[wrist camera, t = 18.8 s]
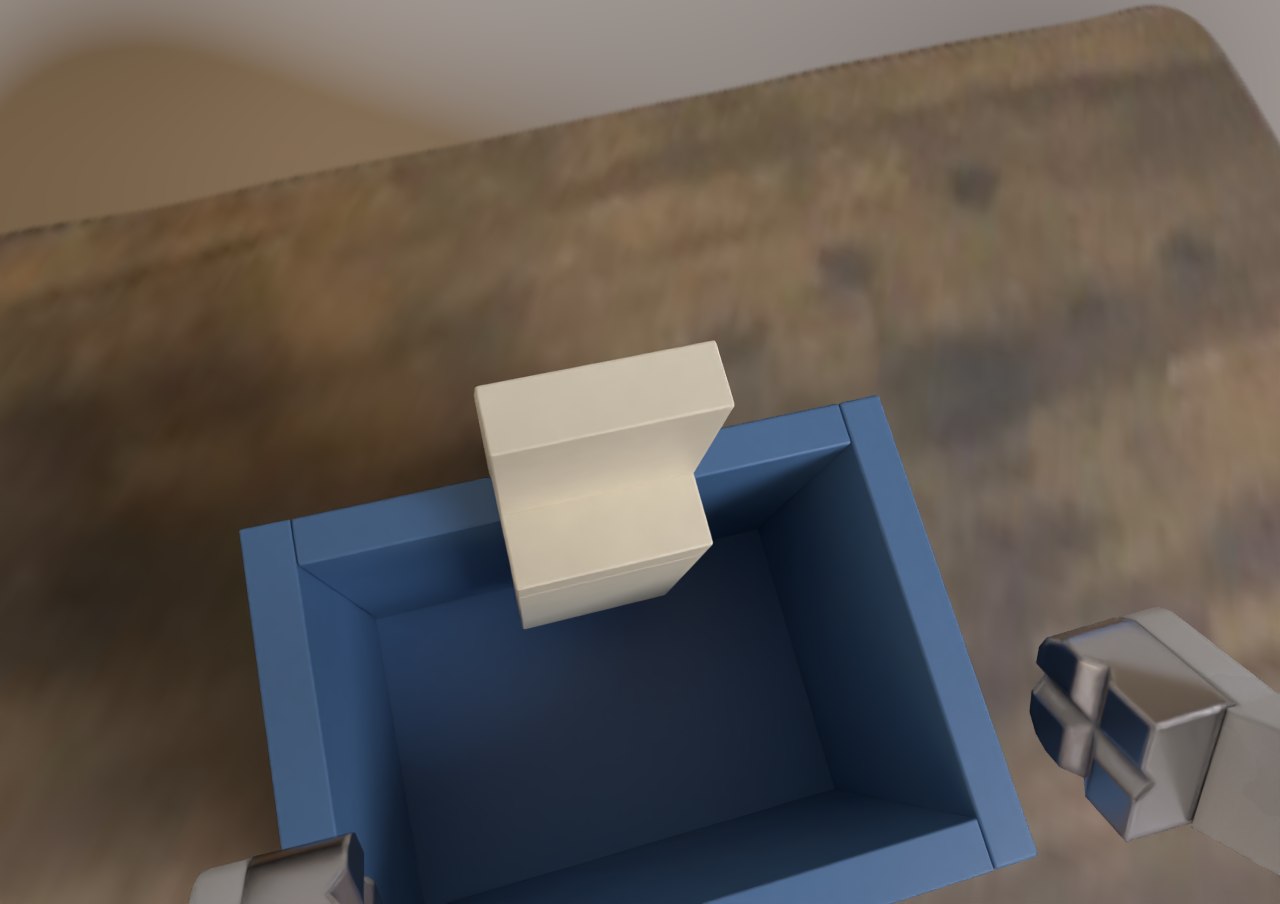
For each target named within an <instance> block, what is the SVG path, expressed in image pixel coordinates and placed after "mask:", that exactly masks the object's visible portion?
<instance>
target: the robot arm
mask: <svg viewBox="0 0 1280 904" xmlns="http://www.w3.org/2000/svg"><path fill="white" fill-rule="evenodd" d="M1036 663H1037V665H1038V666H1039V667H1040V668H1041V669H1042V670H1043V672H1044V673H1045V674H1044V676H1043V677H1042V678H1041V679H1040V681H1039V682H1038V683H1037V685H1036V686H1035V687H1034V689H1033V690H1032V693H1031V703H1030V715H1031V718H1032V722H1033V725H1034V729H1035V732H1036V735H1037V736H1038V738H1039V740H1040V742H1041V743H1042V745H1043V747H1044V749H1045V750H1046V752H1047V753H1048V754H1049V755H1050V756H1051V757H1052V759H1053V760H1054V761H1055V762H1056V763H1057V764H1058V766H1059V767H1061V768H1063V769H1065V770H1068V771H1070V772H1072V773H1074V774H1076V775H1079V776H1081V777H1083V778H1084V786H1085V796H1086V798H1087V799H1088V800H1089V801H1090V802H1091V803H1092V804H1093V806H1094V807H1095V808H1096V809H1097V810H1098V811H1099V812H1100V813H1101V815H1102V816H1103V817H1104V818H1105V819H1106V820H1107V821H1108V822H1109V824H1110V825H1111V826H1112V827H1113V828H1114V829H1115V830H1116V831H1117V833H1118V834H1119V835H1120V836H1121V837H1122V838H1123V839H1124V840H1125V842H1128V841H1132V840H1135V839H1138V838H1142V837H1145V836H1149V835H1152V834H1155V833H1159V832H1162V831H1165V830H1169V829H1172V828H1176V827H1179V826H1182V825H1186V824H1189V823H1192V826H1191V827H1192V828H1194V829H1196V830H1198V831H1199V832H1201V833H1203V834H1205V835H1207V836H1208V837H1210V838H1212V839H1214V840H1216V841H1217V842H1219V843H1221V844H1223V845H1225V846H1226V847H1228V848H1230V849H1232V850H1234V851H1235V852H1237V853H1239V854H1241V855H1243V856H1244V857H1246V858H1248V859H1250V860H1252V861H1253V862H1255V863H1257V864H1259V865H1261V866H1262V867H1264V868H1266V869H1268V870H1270V871H1271V872H1273V873H1275V874H1277V875H1279V876H1280V693H1276V692H1275V691H1274V690H1272V689H1271V688H1270V687H1269V686H1267V685H1266V684H1265V683H1263V682H1262V681H1261V680H1260V679H1258V678H1257V677H1256V676H1254V675H1253V674H1252V673H1251V672H1249V671H1248V670H1247V669H1245V668H1244V667H1243V666H1242V665H1240V664H1239V663H1238V662H1236V661H1235V660H1234V659H1232V658H1231V657H1230V656H1229V655H1227V654H1226V653H1225V652H1223V651H1222V650H1221V649H1220V648H1218V647H1217V646H1216V645H1214V644H1213V643H1212V642H1211V641H1209V640H1208V639H1207V638H1205V637H1204V636H1203V635H1202V634H1200V633H1199V632H1198V631H1196V630H1195V629H1194V628H1193V627H1191V626H1190V625H1189V624H1187V623H1186V622H1185V621H1184V620H1182V619H1181V618H1180V617H1178V616H1177V615H1176V614H1175V613H1173V612H1172V611H1170V610H1167V609H1164V608H1161V607H1158V606H1156V607H1153V608H1149V609H1146V610H1142V611H1139V612H1135V613H1132V614H1128V615H1124V616H1121V617H1119V618H1112V619H1109V620H1105V621H1102V622H1098V623H1095V624H1092V625H1088V626H1085V627H1081V628H1078V629H1074V630H1071V631H1068V632H1064V633H1061V634H1057V635H1054V636H1051V637H1047V638H1046V639H1045V640H1044V641H1043V643H1042V644H1041V645H1040V646H1039V650H1038V656H1037V661H1036ZM189 904H382V900H381V896H380V893H379V891H378V888H377V885H376V882H375V880H373V879H371V878H368V877H366V876H364V851H363V849H362V847H361V844H360V842H359V840H358V837H357V835H356V833H352V832H350V833H346V834H342V835H338V836H334V837H330V838H326V839H322V840H318V841H314V842H310V843H306V844H302V845H298V846H294V847H290V848H286V849H282V850H278V851H274V852H270V853H266V854H262V855H258V856H255V857H253V858H249V859H245V860H241V861H237V862H233V863H230V864H226V865H222V866H218V867H214V868H210V869H206V870H203V871H201V872H200V874H199V876H198V878H197V879H196V881H195V883H194V885H193V887H192V889H191V894H190V899H189Z"/></svg>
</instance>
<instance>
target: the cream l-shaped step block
mask: <svg viewBox="0 0 1280 904" xmlns="http://www.w3.org/2000/svg"><path fill="white" fill-rule="evenodd" d="M474 399H475V404H476V409H477V415H478V420H479V425H480V430H481V435H482V440H483V445H484V450H485V456H486V461H487V466H488V471H489V476H490V477H491V479H492V484H493V488H494V493H495V498H496V502H497V507H498V511H499V516H500V521H501V525H502V530H503V535H504V539H505V544H506V549H507V553H508V558H509V562H510V568H511V574H512V579H513V585H514V591H515V596H516V602H517V607H518V611H519V616H520V621H521V625H522V628H523V629H528V628H532V627H536V626H540V625H544V624H548V623H553V622H557V621H561V620H565V619H569V618H573V617H577V616H581V615H585V614H589V613H593V612H598V611H602V610H606V609H610V608H614V607H618V606H622V605H626V604H630V603H634V602H638V601H643V600H647V599H651V598H655V597H659V596H663V595H665V594H666V593H667V592H668V591H669V590H670V589H671V588H672V587H673V586H674V585H675V584H676V583H677V582H678V581H679V580H680V578H681V577H682V576H683V575H684V574H685V573H686V572H687V571H688V570H689V569H690V568H691V567H692V566H693V565H694V564H695V563H696V561H697V560H698V559H699V558H700V557H701V556H702V555H703V554H704V553H705V552H706V551H707V550H708V549H709V548H710V546H711V545H712V544H713V541H712V537H711V534H710V530H709V527H708V523H707V520H706V516H705V512H704V509H703V505H702V502H701V498H700V495H699V491H698V488H697V484H696V480H695V477H694V472H695V470H696V468H697V467H698V465H699V463H700V462H701V460H702V458H703V457H704V455H705V453H706V452H707V450H708V448H709V447H710V445H711V443H712V442H713V440H714V438H715V437H716V435H717V433H718V432H719V430H720V429H721V427H722V425H723V424H724V422H725V420H726V419H727V417H728V415H729V414H730V412H731V410H732V409H733V407H734V401H733V397H732V394H731V391H730V388H729V384H728V381H727V378H726V374H725V371H724V368H723V364H722V361H721V358H720V354H719V351H718V348H717V344H716V342H715V341H708V342H702V343H697V344H692V345H687V346H682V347H677V348H671V349H666V350H661V351H656V352H651V353H646V354H640V355H635V356H630V357H625V358H620V359H615V360H610V361H604V362H599V363H594V364H589V365H584V366H579V367H573V368H568V369H563V370H558V371H553V372H548V373H542V374H537V375H532V376H527V377H522V378H517V379H511V380H506V381H501V382H496V383H491V384H486V385H480V386H477V387H475V392H474Z"/></svg>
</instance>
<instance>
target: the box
mask: <svg viewBox="0 0 1280 904" xmlns="http://www.w3.org/2000/svg"><path fill="white" fill-rule="evenodd" d="M694 477H695V480H696V484H697V488H698V491H699V495H700V498H701V502H702V505H703V509H704V512H705V516H706V520H707V523H708V527H709V530H710V534H711V537H712V541H713V544H712V545H711V546H710V548H709V549H708V550H707V551H706V552H705V553H704V554H703V555H702V556H701V557H700V558H699V559H698V560H697V561H696V563H695V564H694V565H693V566H692V567H691V568H690V569H689V570H688V571H687V572H686V573H685V574H684V575H683V576H682V577H681V578H680V580H679V581H678V582H677V583H676V584H675V585H674V586H673V587H672V588H671V589H670V590H669V591H668V592H667V593H666V594H665V595H663V596H659V597H655V598H651V599H647V600H643V601H638V602H634V603H630V604H626V605H622V606H618V607H614V608H610V609H606V610H602V611H598V612H593V613H589V614H585V615H581V616H577V617H573V618H569V619H565V620H561V621H557V622H553V623H548V624H544V625H540V626H536V627H532V628H528V629H523V628H522V625H521V621H520V616H519V611H518V607H517V602H516V596H515V591H514V585H513V579H512V574H511V568H510V562H509V558H508V553H507V549H506V544H505V539H504V535H503V530H502V525H501V521H500V516H499V511H498V507H497V502H496V498H495V493H494V488H493V484H492V479H491V477H488V478H483V479H478V480H473V481H469V482H464V483H459V484H454V485H450V486H445V487H440V488H436V489H431V490H426V491H421V492H417V493H412V494H407V495H403V496H398V497H393V498H388V499H384V500H379V501H374V502H369V503H365V504H360V505H355V506H351V507H346V508H341V509H336V510H332V511H327V512H322V513H318V514H313V515H308V516H303V517H299V518H294V519H293V520H292V522H291V521H290V520H283V521H279V522H274V523H269V524H264V525H260V526H255V527H250V528H245V529H242V530H240V532H239V534H240V541H241V549H242V557H243V564H244V572H245V579H246V587H247V594H248V602H249V609H250V617H251V624H252V632H253V639H254V647H255V655H256V662H257V670H258V677H259V685H260V692H261V700H262V707H263V715H264V722H265V730H266V737H267V745H268V753H269V760H270V768H271V775H272V783H273V790H274V798H275V805H276V813H277V820H278V828H279V835H280V843H281V850H282V849H286V848H290V847H294V846H298V845H302V844H306V843H310V842H314V841H318V840H322V839H326V838H330V837H334V836H338V835H342V834H346V833H350V832H352V833H356V835H357V837H358V840H359V842H360V844H361V847H362V849H363V851H364V876H366V877H368V878H371V879H373V880H375V882H376V885H377V888H378V891H379V893H380V896H381V900H382V904H892V903H895V902H898V901H901V900H904V899H907V898H911V897H914V896H917V895H920V894H923V893H926V892H929V891H932V890H935V889H938V888H942V887H945V886H948V885H951V884H954V883H957V882H960V881H963V880H966V879H969V878H973V877H976V876H979V875H982V874H985V873H988V872H991V871H993V869H999V868H1002V867H1005V866H1008V865H1011V864H1014V863H1017V862H1021V861H1024V860H1027V859H1030V858H1033V857H1035V856H1036V855H1037V851H1036V848H1035V845H1034V842H1033V839H1032V836H1031V833H1030V831H1029V828H1028V825H1027V822H1026V819H1025V816H1024V813H1023V810H1022V808H1021V805H1020V802H1019V799H1018V796H1017V793H1016V790H1015V787H1014V784H1013V782H1012V779H1011V776H1010V773H1009V770H1008V767H1007V764H1006V761H1005V759H1004V756H1003V753H1002V750H1001V747H1000V744H999V741H998V738H997V736H996V733H995V730H994V727H993V724H992V721H991V718H990V715H989V712H988V710H987V707H986V704H985V701H984V698H983V695H982V692H981V689H980V687H979V684H978V681H977V678H976V675H975V672H974V669H973V666H972V664H971V661H970V658H969V655H968V652H967V649H966V646H965V643H964V640H963V638H962V635H961V632H960V629H959V626H958V623H957V620H956V617H955V615H954V612H953V609H952V606H951V603H950V600H949V597H948V594H947V592H946V589H945V586H944V583H943V580H942V577H941V574H940V571H939V568H938V566H937V563H936V560H935V557H934V554H933V551H932V548H931V545H930V543H929V540H928V537H927V534H926V531H925V528H924V525H923V522H922V520H921V517H920V514H919V511H918V508H917V505H916V502H915V499H914V496H913V494H912V491H911V488H910V485H909V482H908V479H907V476H906V473H905V471H904V468H903V465H902V462H901V459H900V456H899V453H898V450H897V447H896V445H895V442H894V439H893V436H892V433H891V430H890V427H889V424H888V422H887V419H886V416H885V413H884V410H883V407H882V404H881V401H880V399H879V397H878V396H870V397H866V398H861V399H856V400H852V401H847V402H842V403H840V404H839V405H838V404H832V405H827V406H823V407H818V408H813V409H809V410H804V411H799V412H794V413H790V414H785V415H780V416H776V417H771V418H766V419H761V420H757V421H752V422H747V423H742V424H738V425H733V426H728V427H724V428H721V429H720V430H719V432H718V433H717V435H716V437H715V438H714V440H713V442H712V443H711V445H710V447H709V448H708V450H707V452H706V453H705V455H704V457H703V458H702V460H701V462H700V463H699V465H698V467H697V468H696V470H695V472H694Z"/></svg>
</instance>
